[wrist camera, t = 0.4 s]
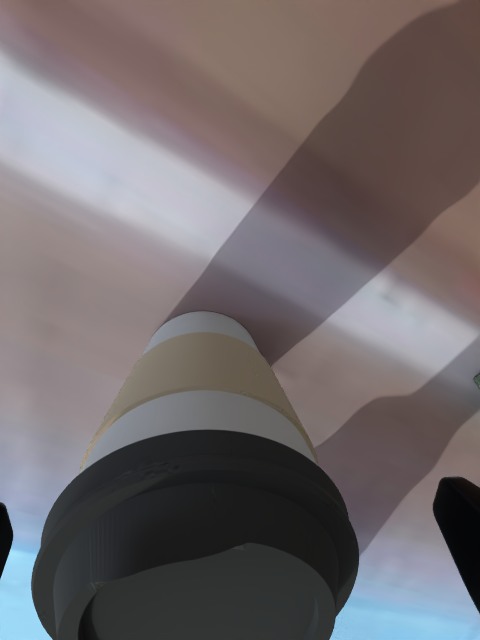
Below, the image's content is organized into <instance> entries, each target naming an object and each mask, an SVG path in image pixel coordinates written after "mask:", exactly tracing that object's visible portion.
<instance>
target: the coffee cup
mask: <svg viewBox="0 0 480 640" xmlns="http://www.w3.org/2000/svg"><path fill="white" fill-rule="evenodd" d="M358 566H359V548H358V542H357V538H356V535H355V532H354V530H353V527H352V525H351V523H350V521H349V517H348V512H347V509H346V505H345V503H344V500H343V498H342V496H341V494H340V492H339V490H338V489H337V487H336V486H335V484H334V483H333V481H332V480H331V479H330V478H329V476H328V475H327V474H326V473H325V472H324V471H323V470H322V469H321V468H320V467H319V466H318V462H317V457H316V453H315V450H314V448H313V445H312V443H311V441H310V439H309V437H308V435H307V433H306V431H305V430H304V428H303V426H302V424H301V422H300V420H299V419H298V417H297V415H296V413H295V411H294V409H293V407H292V406H291V404H290V402H289V400H288V398H287V396H286V394H285V393H284V391H283V389H282V387H281V385H280V383H279V382H278V380H277V378H276V376H275V374H274V372H273V370H272V369H271V367H270V365H269V364H268V362H267V361H266V359H265V358H264V357H263V356H262V355H261V354H260V352H259V350H258V349H257V347H256V345H255V343H254V341H253V339H252V337H251V336H250V334H249V333H248V331H247V330H246V329H245V328H244V327H243V326H242V325H241V324H239V323H238V322H237V321H235V320H234V319H232V318H230V317H228V316H225V315H222V314H219V313H215V312H207V311H198V312H190V313H186V314H183V315H180V316H177V317H175V318H173V319H171V320H169V321H168V322H166V323H165V324H164V325H163V326H161V327H160V328H159V329H158V330H157V331H156V333H155V334H154V335H153V337H152V338H151V340H150V342H149V344H148V345H147V347H146V349H145V351H144V353H143V355H142V357H141V358H140V359H139V360H138V362H137V363H136V364H135V366H134V367H133V369H132V370H131V372H130V374H129V376H128V377H127V379H126V381H125V383H124V384H123V386H122V388H121V390H120V392H119V393H118V395H117V397H116V399H115V400H114V402H113V404H112V406H111V408H110V409H109V411H108V413H107V415H106V416H105V418H104V420H103V422H102V424H101V425H100V427H99V429H98V431H97V432H96V434H95V436H94V438H93V439H92V441H91V443H90V445H89V447H88V449H87V451H86V453H85V455H84V457H83V460H82V463H81V467H80V472H79V475H78V476H77V477H76V478H75V479H74V480H73V481H72V482H71V483H70V484H69V485H68V486H67V487H66V488H65V490H64V491H63V492H62V493H61V494H60V496H59V497H58V499H57V500H56V502H55V503H54V505H53V507H52V509H51V510H50V512H49V515H48V517H47V519H46V522H45V525H44V529H43V532H42V538H41V548H40V550H39V553H38V555H37V558H36V561H35V564H34V567H33V572H32V580H31V590H32V598H33V603H34V606H35V609H36V612H37V614H38V617H39V619H40V621H41V623H42V625H43V627H44V629H45V630H46V632H47V633H48V634H49V636H50V637H51V638H52V639H53V640H329V639H330V637H331V635H332V632H333V629H334V624H335V618H336V616H337V615H338V614H339V612H340V611H341V610H342V608H343V607H344V605H345V603H346V602H347V600H348V598H349V596H350V594H351V591H352V589H353V586H354V583H355V580H356V576H357V572H358Z"/></svg>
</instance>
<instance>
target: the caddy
mask: <svg viewBox="0 0 480 640" xmlns="http://www.w3.org/2000/svg"><path fill="white" fill-rule="evenodd" d="M474 380H475V382H476V384H477V385H478V387H479V388H480V374H479V375H478V376H476V377H475V378H474Z"/></svg>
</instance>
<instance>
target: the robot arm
mask: <svg viewBox="0 0 480 640" xmlns="http://www.w3.org/2000/svg"><path fill="white" fill-rule="evenodd" d="M433 513H434V516H435V519H436V521H437V523H438V526H439V528H440V530H441V532H442V535H443V537H444V539H445V541H446V544H447V546H448V548H449V550H450V553H451V555H452V557H453V559H454V562H455V564H456V566H457V568H458V571H459V573H460V575H461V577H462V580H463V582H464V584H465V586H466V588H467V590H468V592H469V594H470V596H471V598H472V600H473V602H474V604H475V606H476V608H477V610H478V611H479V613H480V488H479V487H478V486H476V485H475V484H473V483H471V482H470V481H468V480H467V479H465V478H463V477H444V478H442V479H441V480H440V482H439V485H438V489H437V492H436V495H435V499H434V502H433ZM12 541H13V530H12V526H11V523H10V519H9V516H8V512H7V509H6V506H5V505H4V504H3V503H1V502H0V578H1V575H2V572H3V569H4V566H5V563H6V560H7V558H8V555H9V552H10V549H11V545H12Z"/></svg>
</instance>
